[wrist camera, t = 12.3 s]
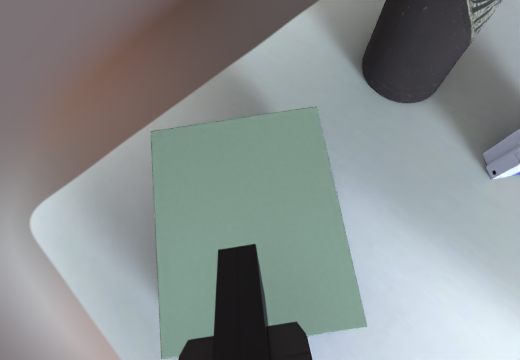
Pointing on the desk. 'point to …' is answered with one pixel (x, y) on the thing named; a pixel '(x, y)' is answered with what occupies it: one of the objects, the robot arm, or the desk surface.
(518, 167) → the walkman
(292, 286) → the case lid
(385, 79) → the container
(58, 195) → the desk surface
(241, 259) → the robot arm
